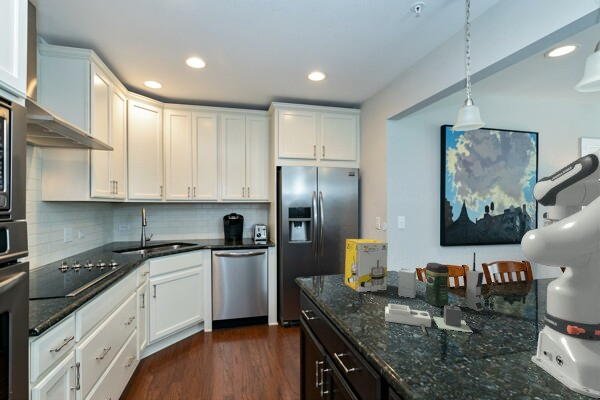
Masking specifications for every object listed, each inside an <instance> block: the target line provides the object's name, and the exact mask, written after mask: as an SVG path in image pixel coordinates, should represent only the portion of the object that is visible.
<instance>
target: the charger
mask: <svg viewBox="0 0 600 400" xmlns="http://www.w3.org/2000/svg"><path fill="white" fill-rule="evenodd" d="M443 318H444V323H445V324H446V325H449V326H457V327H461V320H462V309H460V307H459V306H455V304H454V303H453V304H452V303H451V304H450V305H447V306H446V305H444V307H443Z"/></svg>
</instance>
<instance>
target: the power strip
mask: <svg viewBox="0 0 600 400" xmlns="http://www.w3.org/2000/svg"><path fill="white" fill-rule="evenodd" d="M384 308H385V309H384V310H385V311H384V321H385V322H390V323H396V324H397V323H398V324H404V325H411V326H418V327H421V329H422V330H421V331H422V332H423V335H424V336H426V337H427V336H428V333H427V331H426V330H427V329H426V327H427V328H432V318H431V316H430V313H429V312H428V311H425V310H417V309H410V306H409V305H403V304H395V303H388V304H387V306H385V307H384Z"/></svg>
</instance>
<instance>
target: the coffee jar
mask: <svg viewBox="0 0 600 400" xmlns="http://www.w3.org/2000/svg"><path fill="white" fill-rule="evenodd" d="M425 271H426V272H425V273H426V282H425V283H426V285H425V286H426V288H425V296H424V297H425V298H424V300H425V302H426V301H427V304H430V305H432V306H434V305H435V307H441V306H444V305H446V306H449V291H448V279H449V276H450V275H449V274H450V272H449V271H450V268H449V266H447V265H446V264H441V263H438V262H428V263H426V267H425Z"/></svg>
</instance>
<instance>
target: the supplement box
mask: <svg viewBox="0 0 600 400" xmlns="http://www.w3.org/2000/svg"><path fill="white" fill-rule="evenodd" d="M397 289H398V294H397V295H399V296H398V297H401V296H405V297H404V298H406V297H410V298H409V299H412V298H414V299H415V298H416V296H417V270H416V269H410V268H409V269H408V268H401V269H400V270H398V288H397ZM415 295H416V296H415Z"/></svg>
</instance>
